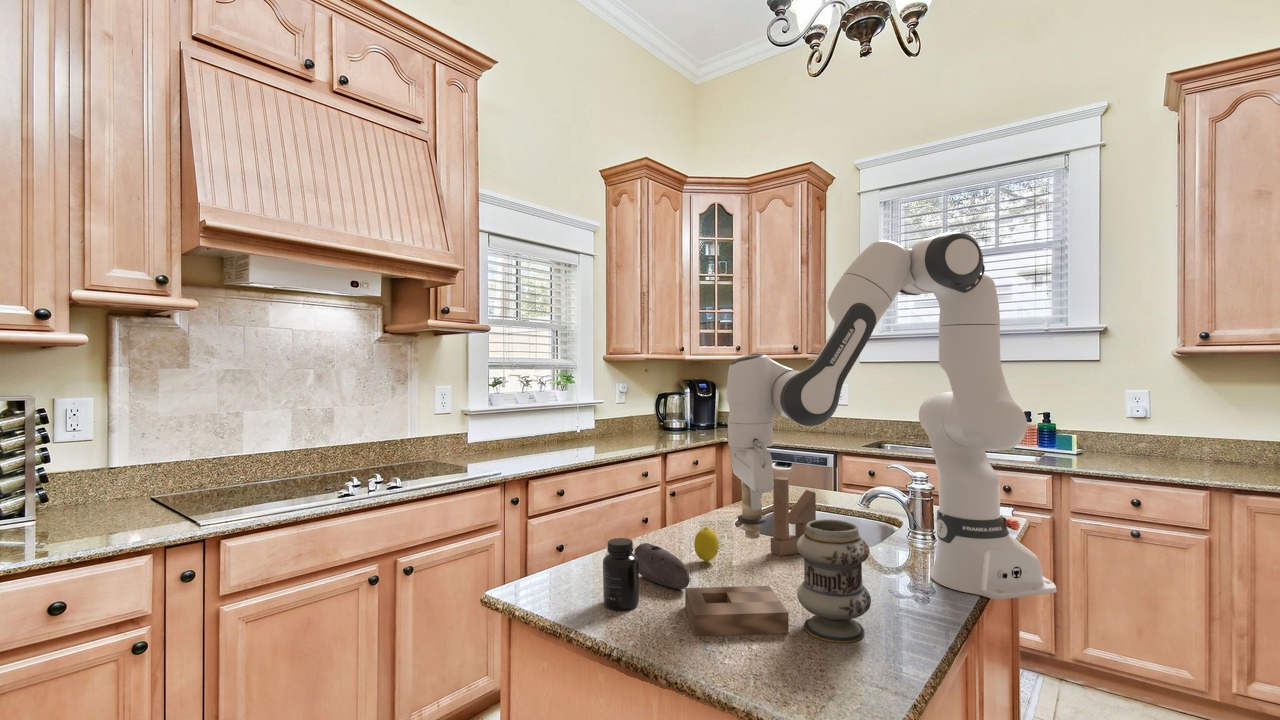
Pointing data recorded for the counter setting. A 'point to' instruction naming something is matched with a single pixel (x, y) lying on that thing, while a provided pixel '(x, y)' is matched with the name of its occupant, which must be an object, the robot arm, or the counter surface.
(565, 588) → the counter surface
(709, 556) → the lemon
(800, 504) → the wooden block structure
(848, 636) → the apothecary jar
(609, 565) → the supplement bottle
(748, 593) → the walnut board
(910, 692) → the counter surface
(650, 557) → the perforated stone tool
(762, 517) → the maple peg
